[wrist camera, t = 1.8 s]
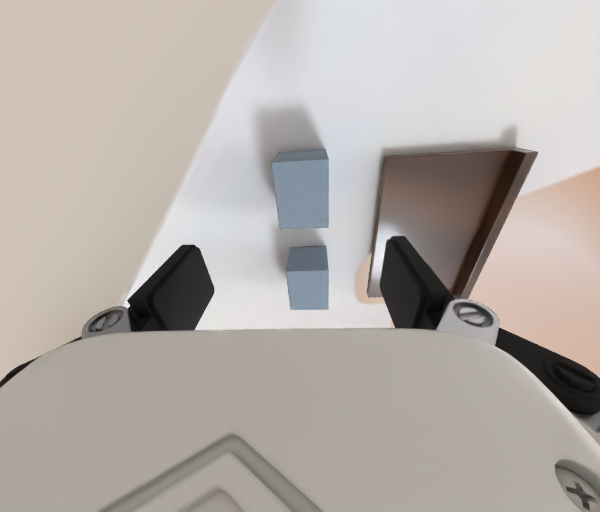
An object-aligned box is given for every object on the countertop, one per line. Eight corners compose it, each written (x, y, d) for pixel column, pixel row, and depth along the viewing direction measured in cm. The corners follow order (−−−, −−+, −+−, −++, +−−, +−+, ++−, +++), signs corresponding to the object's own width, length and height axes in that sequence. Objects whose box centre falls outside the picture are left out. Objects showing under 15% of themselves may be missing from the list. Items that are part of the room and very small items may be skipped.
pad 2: (289, 247, 28) (285, 271, 24) (326, 245, 27) (328, 270, 23) (293, 283, 31) (290, 310, 27) (326, 282, 31) (328, 309, 27)
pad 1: (279, 152, 22) (270, 162, 18) (325, 149, 21) (328, 158, 17) (285, 209, 25) (279, 229, 21) (325, 207, 25) (328, 227, 21)
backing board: (384, 156, 22) (391, 161, 19) (516, 147, 21) (539, 151, 18) (366, 292, 31) (370, 305, 29) (455, 291, 30) (465, 304, 28)
